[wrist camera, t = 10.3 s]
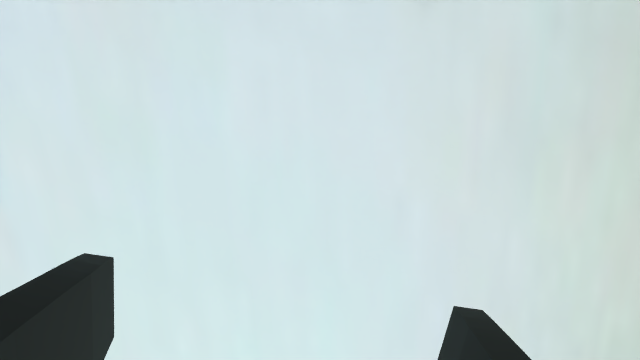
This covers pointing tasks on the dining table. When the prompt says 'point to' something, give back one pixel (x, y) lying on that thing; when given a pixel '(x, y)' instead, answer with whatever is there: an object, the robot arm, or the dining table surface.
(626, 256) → the dining table surface
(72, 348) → the robot arm
